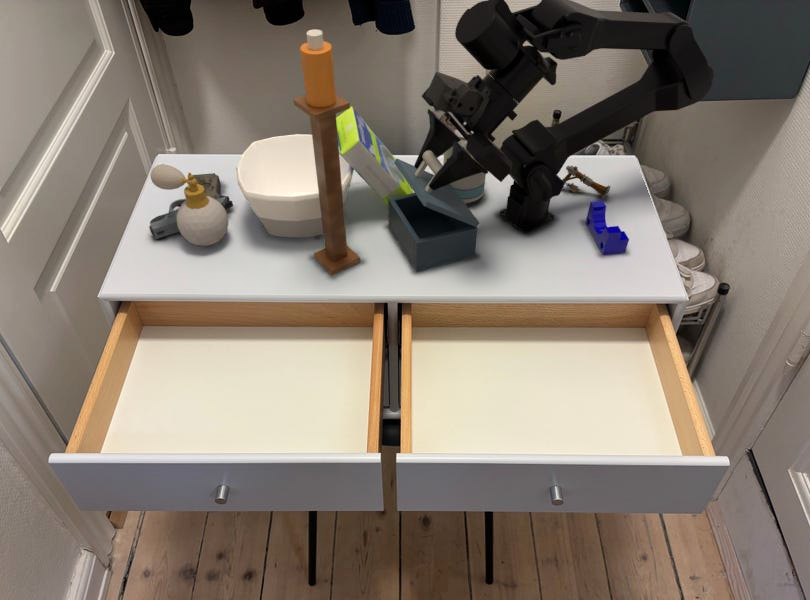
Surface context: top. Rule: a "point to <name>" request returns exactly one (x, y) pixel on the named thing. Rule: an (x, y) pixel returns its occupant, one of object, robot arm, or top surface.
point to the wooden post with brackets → (586, 180)
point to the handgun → (168, 221)
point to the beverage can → (467, 179)
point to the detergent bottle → (318, 70)
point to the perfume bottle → (193, 207)
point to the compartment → (429, 233)
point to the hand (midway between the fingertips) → (423, 178)
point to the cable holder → (605, 230)
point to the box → (369, 156)
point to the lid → (437, 199)
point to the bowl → (285, 184)
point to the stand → (329, 184)
